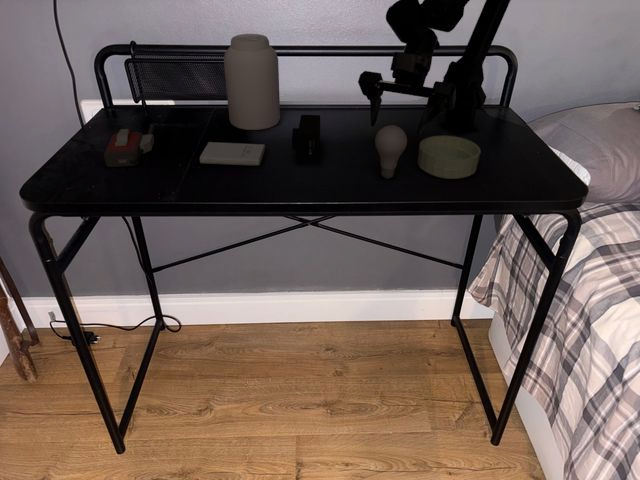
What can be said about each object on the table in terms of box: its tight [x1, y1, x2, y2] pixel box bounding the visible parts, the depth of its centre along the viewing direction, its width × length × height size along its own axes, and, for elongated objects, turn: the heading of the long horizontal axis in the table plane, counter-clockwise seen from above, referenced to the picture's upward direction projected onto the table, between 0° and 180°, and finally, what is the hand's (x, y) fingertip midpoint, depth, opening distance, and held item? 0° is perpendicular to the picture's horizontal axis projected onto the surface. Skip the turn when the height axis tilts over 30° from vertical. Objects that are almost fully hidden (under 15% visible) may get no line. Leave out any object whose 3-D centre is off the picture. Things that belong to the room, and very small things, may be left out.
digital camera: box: [291, 114, 321, 165], centre depth 108 cm, size 10×5×7 cm, turn 178°
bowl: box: [416, 134, 482, 180], centre depth 104 cm, size 12×12×4 cm
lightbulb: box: [374, 124, 408, 180], centre depth 98 cm, size 6×6×11 cm
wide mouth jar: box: [223, 33, 281, 131], centre depth 119 cm, size 12×12×20 cm
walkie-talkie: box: [103, 123, 156, 168], centre depth 109 cm, size 9×4×20 cm
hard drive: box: [199, 141, 266, 167], centre depth 107 cm, size 2×8×12 cm
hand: (394, 129), depth 97 cm, fingers open, 9 cm apart
